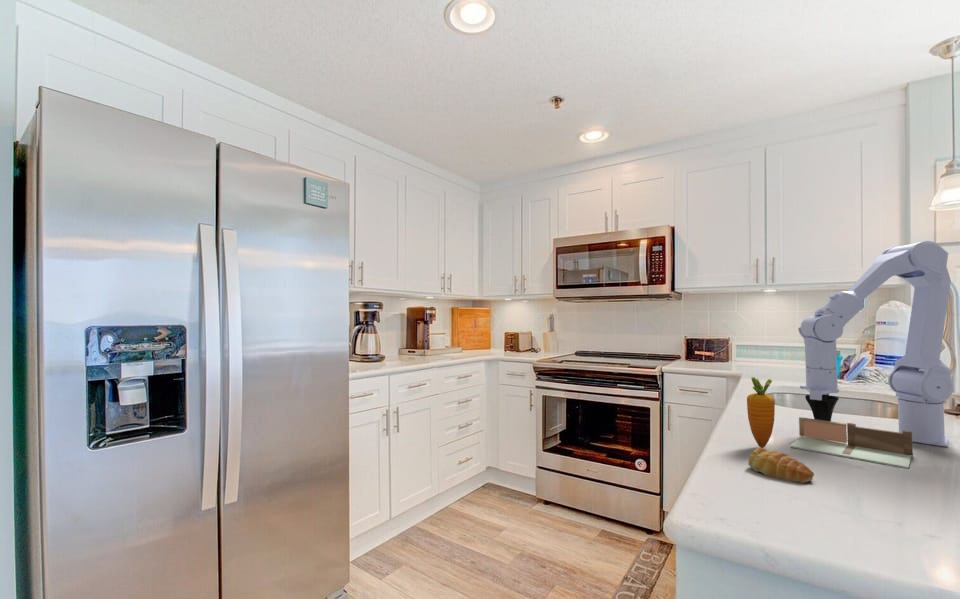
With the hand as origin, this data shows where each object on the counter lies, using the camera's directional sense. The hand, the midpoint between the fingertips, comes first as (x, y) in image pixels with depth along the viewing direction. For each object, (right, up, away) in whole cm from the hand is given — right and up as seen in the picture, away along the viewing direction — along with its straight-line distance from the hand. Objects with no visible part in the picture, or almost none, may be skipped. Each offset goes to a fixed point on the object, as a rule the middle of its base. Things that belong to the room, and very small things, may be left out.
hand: (822, 427), depth 100 cm
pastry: (-25, -2, -22) cm, 34 cm away
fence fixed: (+4, -2, -10) cm, 11 cm away
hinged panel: (-3, -2, -3) cm, 5 cm away
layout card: (-1, -2, -9) cm, 9 cm away
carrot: (-19, -2, -8) cm, 21 cm away
